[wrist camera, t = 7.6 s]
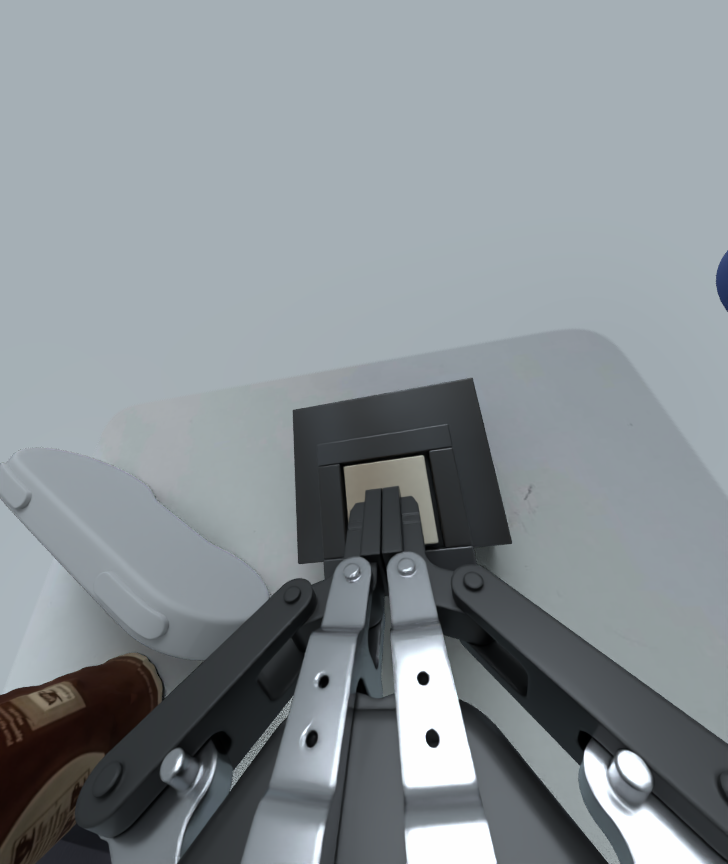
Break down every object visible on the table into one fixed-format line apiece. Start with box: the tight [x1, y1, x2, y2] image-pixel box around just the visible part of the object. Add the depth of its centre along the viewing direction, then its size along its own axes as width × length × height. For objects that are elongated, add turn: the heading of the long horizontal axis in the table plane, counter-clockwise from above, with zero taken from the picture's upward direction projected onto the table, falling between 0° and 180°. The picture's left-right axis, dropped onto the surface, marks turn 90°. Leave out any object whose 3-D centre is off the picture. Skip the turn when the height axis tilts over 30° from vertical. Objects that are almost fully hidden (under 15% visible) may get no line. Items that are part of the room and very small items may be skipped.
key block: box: [293, 378, 512, 579], centre depth 18 cm, size 11×10×6 cm
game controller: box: [0, 447, 269, 660], centre depth 19 cm, size 20×2×8 cm, turn 60°
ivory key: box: [344, 455, 438, 544], centre depth 15 cm, size 4×4×2 cm
